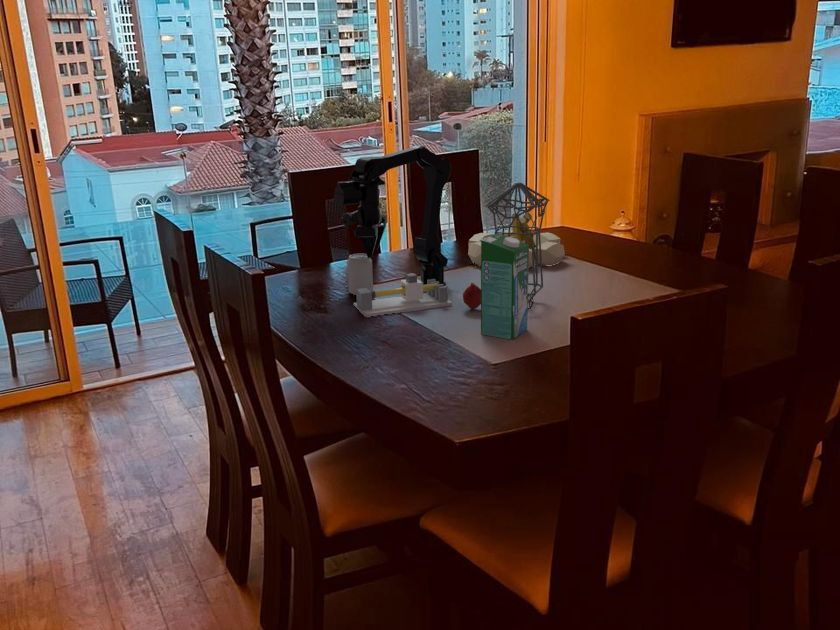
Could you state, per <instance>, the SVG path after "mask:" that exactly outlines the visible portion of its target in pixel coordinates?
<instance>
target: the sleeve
mask: <svg viewBox="0 0 840 630" xmlns="http://www.w3.org/2000/svg"><path fill="white" fill-rule="evenodd" d="M423 285H424V284H423V282H421V279H418V275H417V274H416V273H414V272H411V273H410V272H409V273H405V279H401V280H400V288H404V287H405V292H406V294H400V297H402V298H403V299H405V300H406V301H413V300H420V299H423V293H424V291H423Z"/></svg>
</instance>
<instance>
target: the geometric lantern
mask: <svg viewBox="0 0 840 630" xmlns="http://www.w3.org/2000/svg"><path fill="white" fill-rule="evenodd" d="M521 191H522V192H521ZM521 193H523V194H524V196H525V197H526V198H527V200H528V201H523V200H522V195H521ZM509 194H510V195H509ZM513 194H514V199H512V196H513ZM508 195H509V196H508ZM535 195H536V196H535ZM507 196H508V198H506V197H507ZM537 196H538V197H540V198H538V197H537ZM517 197H519V200H517ZM501 201H504V202H505V205H501V204H500V205H499V203H501ZM549 201H551V199H549V198H548V197H546V196H544V195H542V194H541V193H539V192H537V191H535V190H534V189H532V188H531V187H529V186H527V185H526V184H524V183H523V182H515V183H513V184H512V185H511V186H510V187H509V188H507V189H506V190H504V191H503V192H501V193H500V194H499V195H497V196H496V197H495V198H493V199H492V200H489V202H487V203H486V204H485V206H486V207H487V209H488V210H489V211H490V212H491V213H492V214H493V223H494V234H496V233H500V234H502V235H504V234H508V237H510V234H520V235H525V244H527V235H531V241H532V262H533V266H532V277H533V279H532V280H533V283H531V282H528V286H533V289H532V291H531V292H530V293H529V292H528V307H530V305H531V301H530V300H533V301H534V297H535V296H536V295H537V294H538V293H539V292H540V291H541V290H542V289H543V288H544V278H543V277H544V276H543V265H542V256H541V239H540V233H541V230H542V225H543V221H544V216H545V214H546V213H545V212H546V207H547V205H548V203H549ZM511 202H514V203H511ZM517 203H520V206H517ZM523 204H526V205H525V206H523ZM529 204H530V205H529ZM528 205H529V206H528ZM499 208H501V209H503V210H504V213H502V212H500V211H499ZM507 208H509V209H513V212H514V214H515V216H512V215H511V216H510V215H509V216H507V211H506V209H507ZM535 208H537V215H536V216H535V219H534V220H533V217H532V218H531V216H532V215H531V216H530V214H531V211H533V210H534V209H535ZM516 211H517V212H516ZM516 213H517V214H516ZM525 213H528V214H529V213H530V214H529V216H530V218H531V220H530V221H531V222H532V226H529V227H525V226H523V225H522V223H521V221H520V220H519V218H520V216H522V215H524V214H525ZM496 216H497V219H498V220H499V222H500V224H499V225H498V226H497V221H496ZM500 216H501V217H503V219H502V220H501V217H500ZM518 216H519V218H518ZM540 217H541V218H540ZM512 218H514V219H513V221H512V220H511V222H510V224H509V225H504V224H503V223H504V221H505V219H506V220H508V219H512ZM516 218H517V220H518V221H519V223H520V225H521V226H512V224H513V222H514V220H515V219H516ZM538 218H540V222H539V223H540V224H539V227H538V226H536V224H535V223H536V222H537V219H538ZM512 227H517V228H523V230H524V231H525V233H510V230H511V228H512ZM525 228H529V229H531V230H530V233H527V231H526V230H525ZM505 229H508V230H509V231H508V233H506V232H504V231H505ZM533 229H535V231H533V232H534V233H531V231H532V230H533ZM500 230H502V231H500ZM533 234H534V235H536V256H535V251H534V242H533ZM538 237H539V254H540V266H539V263H538ZM534 259H535V263H536V265H535V263H534ZM538 267H539V268H540V284H539V282H538V281H539V280H538V277H539V276H538V275H539V271H538V270H539V268H538ZM537 286H538V287H539V288H538V289H537Z"/></svg>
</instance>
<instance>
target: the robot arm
mask: <svg viewBox="0 0 840 630" xmlns="http://www.w3.org/2000/svg"><path fill="white" fill-rule="evenodd" d="M413 162H416V163H417V165H418V166H419V167H421V168H422V169H423V179H424V181H425V185H426V193H425V202H424V211H423V220H422V230H421V233H420V235H419V236H418V237H417V236H415V237H414V239H413V248H412V251H413V254H414V257H416V259H417V261H418V263H419V264H420V265H421V269H420V281H421V282H423V285H427V280H430V279H435V280H436V281H439V284H443V285H444V286H445V285H447V283H446V282H445V273H444V272H445V267H447V265H448V261H449V259H448V258H447V257H446V256H445V255H444V254H443V253H442V246H441V245H442V244H441V241H440V238H439V235H438V233H439V232H438V231H439V226H440V225H439V223H440V217H441V208H442V207H441V206H442V199H443V191H444V187H445V186H446V185H447V183H448V181H449V179H450V175H451V171H452V163H450V162H449V160H448V159H447V158H443V157H441V156H439V155H437V154H436V153H434V152H432V151H430V150H429V149H428V148H427V147H426V146H424V145H423V146H422V145H413V146H411V147H408V148H405V149H402V150H398V151H395V152H392V153H388V154H384V155H380V156H379V155H378V156H363V157H359V158H357V159H356V161H355V163H354V168H353V169H352V172H351V174H350V175H349V177H348V179H347V181H337V182H336V187H335V188H334V191H333V198H334V199H333V200H334V202H335V204H336V205H337V207H345V206H351V205H358V204H359V206H358V207H357V210H354V211H353V212H350V211H349V212H346V213H343V214H342V216H341V218H340V220H341V222H340V223H341V224H342V225H343V227H344V228H345V229H346V228H349V227H350V226H352V225H355V224H357V226H356V227H355V229H353V233H354V238H355V237H356V239H357V240H359V241H361V242H362V245H363V248H364V250H365V251H364V252H365V254H367V257H368V258H370V259H371V258H373V253H374V251H378V249H379V247H380V244H381V241H382V238H383V236H384V232H385V230H386V227H387V224H388V217H387V215H385V214H381V208H382V203H380V187H379V186H385V184H386V181H384V180H382V179H381V177H382V176H383V175H385V174H386V173H387V172H388V171H390V170H392V169H394V168H398V167H401V166H404V165H407V164H408V165H409V164H411V163H413Z"/></svg>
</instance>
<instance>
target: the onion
mask: <svg viewBox="0 0 840 630" xmlns="http://www.w3.org/2000/svg"><path fill="white" fill-rule="evenodd" d="M462 300H463V302H464V304H465V305H466V306H467V307H468V308H469V309H470V310H472V311H473V310H476V309H477V308H478V307H481V287H479V286H478V285H476V284H475V283H474V282H473V281H471V282H470V285H469V286H467V288H466V289H465V290H464V291H463V293H462Z"/></svg>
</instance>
